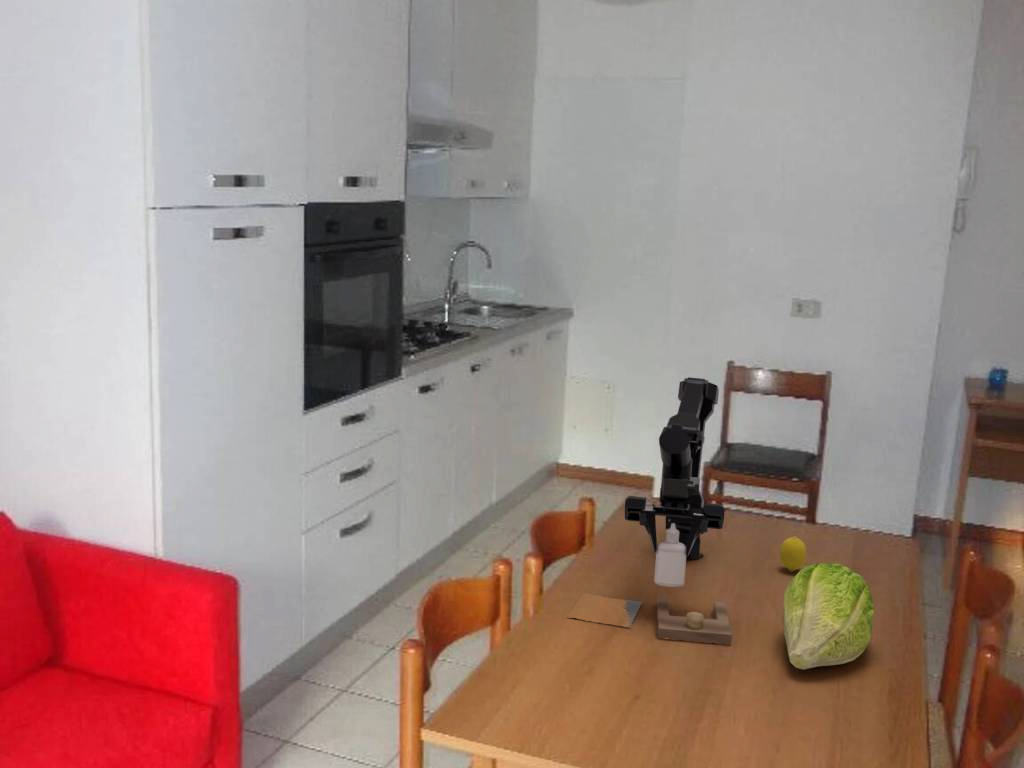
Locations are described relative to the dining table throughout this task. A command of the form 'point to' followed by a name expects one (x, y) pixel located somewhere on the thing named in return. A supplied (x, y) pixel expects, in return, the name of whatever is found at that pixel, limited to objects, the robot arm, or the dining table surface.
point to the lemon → (793, 553)
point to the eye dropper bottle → (670, 560)
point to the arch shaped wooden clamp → (694, 624)
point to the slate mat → (632, 609)
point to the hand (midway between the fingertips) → (671, 553)
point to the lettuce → (827, 616)
